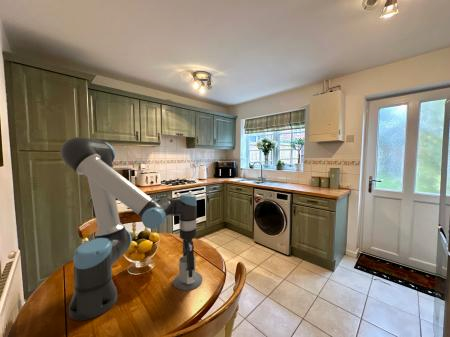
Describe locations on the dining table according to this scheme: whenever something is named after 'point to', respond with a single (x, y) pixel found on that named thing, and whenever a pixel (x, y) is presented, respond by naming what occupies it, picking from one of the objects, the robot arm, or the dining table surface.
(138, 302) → the dining table surface
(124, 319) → the dining table surface
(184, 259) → the cup
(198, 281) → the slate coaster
